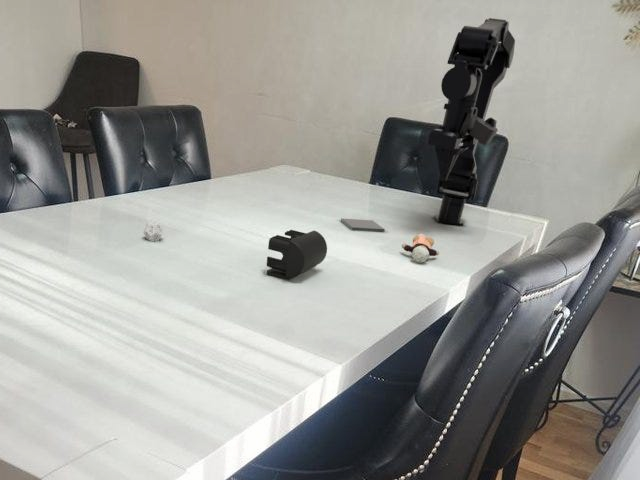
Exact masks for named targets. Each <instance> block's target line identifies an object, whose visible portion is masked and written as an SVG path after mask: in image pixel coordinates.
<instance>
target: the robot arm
mask: <svg viewBox="0 0 640 480" xmlns="http://www.w3.org/2000/svg"><path fill="white" fill-rule="evenodd" d="M509 24H510V22H509V21H507V20H506V19H500V18H493V17H492V18H491V17H488V18H486V19H485V20H484V22H483V23H482V24H481V25H479V26H471V25H464V26H462V28H461V31H459V32H457V35H456V37H455V40H454V43H453V46H452V48H451V51H450V54H449V57H448V59H447V64H448V65H452V66H453V65H454V66H453V67H452V68H450V69H448V70H447V72H445V73H444V75H443V77H442V79H441V83H440V84H441V85H440V88H441V92H442V95H443V96H444V97H445V98H446V99H447V103H446V102H445V103H444V105H443V110H445V113H444V118H443V122H442V125H439V128H435V129H432V130H431V131H429V132H428V134H427V135H426V136H427V137H426V141H425V144H426V145H431V146H433V148H434V150H435V155H436V160H437V167H438V172H439V178H438V183H437V191H436V195H441V196H442V199H441V203H440V207H439V212H438V214H434V219H435V220H436V222H438V223H441V224H448V225H449V224H450V225H457V226H464V224H465V223H464V222H463V221H462V220H461V219H462V215H463V211H464V208H465V204H466V201H474V200H475V197H476V194H477V188H478V183H479V181H478V177H477V176H478V173H477V169H478V168H477V162H476V158H475V153H476V150H477V147H478V143H479V144H481V145H483V146H487V145H490V144H491V142H492V140H493V139H494V137H496V136H497V132H498V127H497V122H498V121H497V120H496V119H494V118H493V117H488V118H487V119H486V116H487V114H488V110H489V106H490V103H491V100H492V97H493V93H494V89H495V88H496V87H497V86H498V85H499V84H500V83H501V82H502V81H503V80H504V79H505V77H506V74H507V71H508V69H511V66H512V63H513V59H514V54H515V45H516V39H515V37H514V36H513V34H512V33H511V32H510V30H509V26H510V25H509Z"/></svg>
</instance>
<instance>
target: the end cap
mask: <svg viewBox="0 0 640 480" xmlns="http://www.w3.org/2000/svg"><path fill="white" fill-rule="evenodd" d="M267 250H270V251H273V252H278V253H280V254H282V257H281V259H279V258H276V257H272V256H267V257H266V267H268V268H269V269H267V270H266V275H267V276H270V277H273V278H277V279H281V280H284V281H291V280H292V279H294V278H296V277H298V276H300V275H302V274H304V273H306V272H308V271H309V270H312V269H314V268H316V267H317V266H318V265H319V264H322V262H324V260H325V259H326V256H327V253H328V245H327V242H326V239H325V237H324V236H323V235H322V234H321V233H320V232H319V231H316V230H312V231H309V232H303V231H298V230H295V229H290V230H286V231H285V232H284V236H283V235H279V234H276V235H274V236H273V235H272V237H269V240H268V247H267Z"/></svg>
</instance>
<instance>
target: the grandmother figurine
mask: <svg viewBox="0 0 640 480" xmlns="http://www.w3.org/2000/svg"><path fill="white" fill-rule="evenodd" d="M434 244H435V240H434V238H432V237H427V238H426V235H425V234H423V233H419V234H418V235H415V236H414V237H413V238H412V246H411V245H409V244H407V243H402V244H401V248H402V249H403V250H404V251H405V252H409V253H412V254H411V257H412V259H413V261H414V262H415V263H417V264H421V263H423V262H426V261H427V260H428V259H429V257H436V256H440V255H439V254H440V251H439V250H437V249H433V248H432V247H433V246H434Z"/></svg>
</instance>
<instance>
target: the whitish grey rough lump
mask: <svg viewBox="0 0 640 480" xmlns="http://www.w3.org/2000/svg"><path fill="white" fill-rule="evenodd" d="M163 233H164V229H163V227H162V225H161V224H160V223H159V222H156V221H148V222H147V223H146V225H145V227H144V229H143V235H144V237H145V238H146V240H148V241H150V242H159V241H160V239H161V238H162V236H163Z"/></svg>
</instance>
